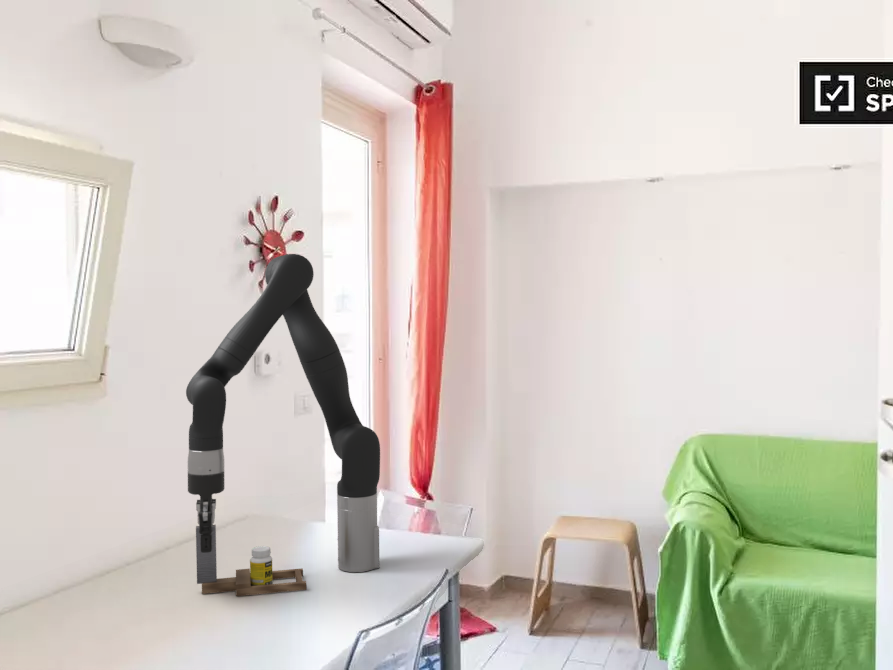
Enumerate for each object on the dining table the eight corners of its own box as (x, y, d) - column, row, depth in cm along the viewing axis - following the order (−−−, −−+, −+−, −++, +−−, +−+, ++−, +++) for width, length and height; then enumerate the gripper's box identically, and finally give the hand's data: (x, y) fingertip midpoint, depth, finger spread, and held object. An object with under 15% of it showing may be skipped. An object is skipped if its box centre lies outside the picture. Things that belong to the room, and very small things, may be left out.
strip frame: (302, 574, 184) (301, 513, 183) (306, 589, 174) (305, 524, 173) (198, 584, 178) (197, 521, 177) (196, 600, 168) (194, 533, 168)
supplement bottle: (268, 590, 174) (267, 552, 174) (247, 590, 174) (246, 551, 174) (275, 583, 179) (275, 545, 178) (255, 582, 179) (254, 544, 179)
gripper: (223, 475, 167) (224, 558, 168) (224, 463, 180) (225, 540, 181) (185, 477, 165) (186, 561, 166) (189, 464, 178) (189, 542, 179)
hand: (206, 550), depth 173 cm, fingers closed on strip frame
